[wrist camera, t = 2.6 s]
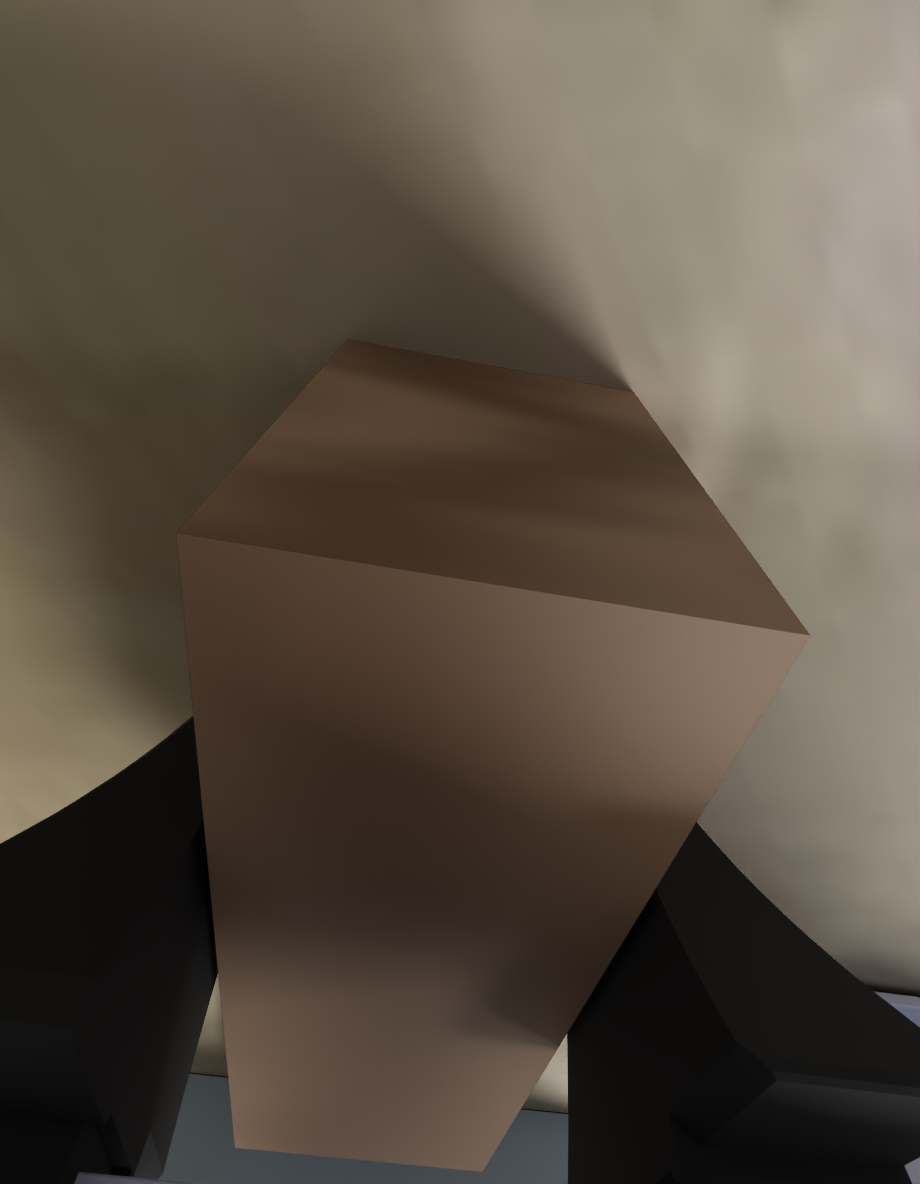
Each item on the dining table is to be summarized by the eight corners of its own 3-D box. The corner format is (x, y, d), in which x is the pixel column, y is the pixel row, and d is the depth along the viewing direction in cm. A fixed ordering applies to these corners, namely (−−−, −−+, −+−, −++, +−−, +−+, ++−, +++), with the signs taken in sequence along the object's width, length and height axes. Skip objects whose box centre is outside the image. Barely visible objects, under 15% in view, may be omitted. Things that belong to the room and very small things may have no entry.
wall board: (750, 940, 20) (908, 1384, 13) (590, 1128, 30) (625, 1442, 23) (-8, 840, 19) (-342, 1286, 11) (84, 1075, 28) (-59, 1395, 21)
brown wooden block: (633, 391, 11) (809, 635, 5) (482, 859, 18) (482, 1171, 13) (347, 338, 10) (174, 533, 5) (315, 837, 18) (235, 1147, 12)
